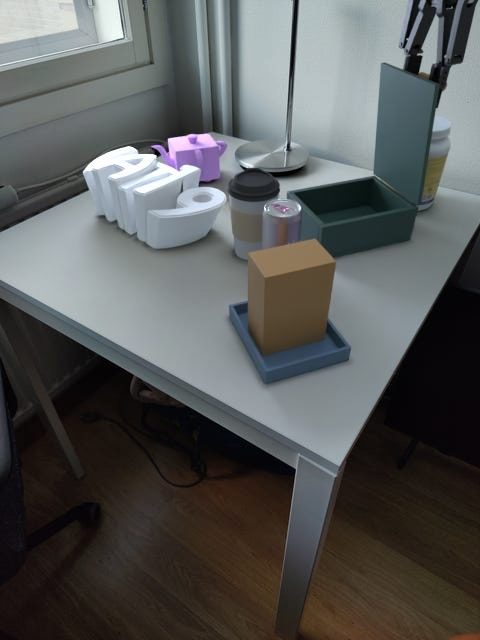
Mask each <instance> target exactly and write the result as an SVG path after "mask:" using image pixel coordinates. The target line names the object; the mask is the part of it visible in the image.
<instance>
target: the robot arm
mask: <svg viewBox="0 0 480 640" xmlns="http://www.w3.org/2000/svg"><path fill="white" fill-rule="evenodd" d="M478 2H479V0H408V2H407V5H406V11H405V14H404V18H403V19H404V20H403V24H402V28H401V33H400V36H399V37H400V38H399V43H398V48H399V49H402V50H403V54H404V62H403V66H402V69H403V70H405V71H408V72H410V73H413V74H415V75H418V74H419V73H420V72H421V71H420V69H421V67H422V62H423V57H424V56H423V55H422V54H423V53H425V51H424V50H423V46H424V44H425V41H426V39H427V37H428V34H429V32H430V29H431V27H432V24H433V21H434V20H435V17H436V16H437V18H438V24H437V42H436V43H437V44H436V59H435V60H436V61H435V63H432V64H431V67H430V70H429V74H430V75H429V79H428V80H430V81H433V82H436V83H438V84H440V86H439V92H438V99H437V105H436V109H439V105H440V102H441V97H442V94H443V92H442V90H443V89H444V88H445V86H446V82H447V81H448V78H449V74H450V70H451V68H452V67H453V66H456V65H461V64H463V62H464V59H465V55H466V50H467V46H468V41H469V37H470V33H471V28H472V23H473V20H474V15H475V12H476V7H477V5H478Z"/></svg>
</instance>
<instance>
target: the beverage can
mask: <svg viewBox="0 0 480 640" xmlns="http://www.w3.org/2000/svg"><path fill="white" fill-rule="evenodd" d="M301 223H302V212H301V206H300V204H298V203H297V202H295V201H292V200H288V199H286V198H279V199H276V200H272V201H270V202H268V203H267V204H266V205H265V207H264V212H263V231H262V250H264V249H269V248H273V247H278V246H283V245H288V244H292V243H297V242H301V240H300V234H301Z"/></svg>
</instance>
